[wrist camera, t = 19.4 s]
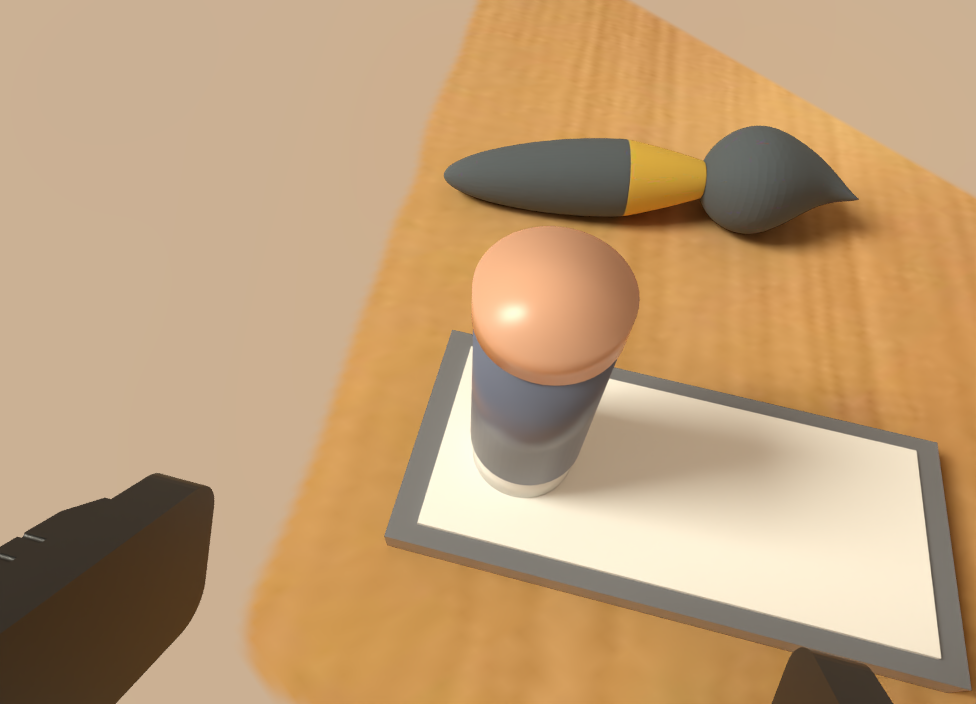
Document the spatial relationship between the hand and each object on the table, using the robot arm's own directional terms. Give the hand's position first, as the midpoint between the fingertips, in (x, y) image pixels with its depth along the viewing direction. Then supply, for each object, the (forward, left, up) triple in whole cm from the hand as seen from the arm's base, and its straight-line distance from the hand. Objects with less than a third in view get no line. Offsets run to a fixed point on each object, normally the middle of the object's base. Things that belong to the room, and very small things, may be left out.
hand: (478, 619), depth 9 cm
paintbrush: (-3, -23, -15) cm, 28 cm away
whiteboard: (-6, -8, -15) cm, 18 cm away
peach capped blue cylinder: (0, -8, -13) cm, 16 cm away
